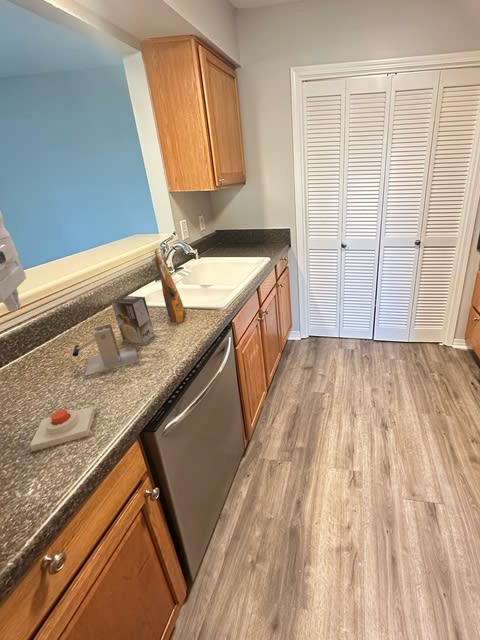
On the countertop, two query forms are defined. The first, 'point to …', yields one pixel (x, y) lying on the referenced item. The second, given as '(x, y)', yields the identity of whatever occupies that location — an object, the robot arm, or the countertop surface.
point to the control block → (63, 429)
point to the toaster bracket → (109, 352)
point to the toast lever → (84, 345)
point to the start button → (60, 417)
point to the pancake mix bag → (169, 291)
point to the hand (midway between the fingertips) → (15, 309)
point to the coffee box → (133, 319)
